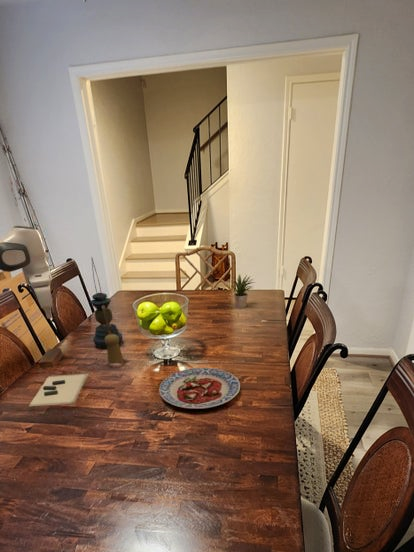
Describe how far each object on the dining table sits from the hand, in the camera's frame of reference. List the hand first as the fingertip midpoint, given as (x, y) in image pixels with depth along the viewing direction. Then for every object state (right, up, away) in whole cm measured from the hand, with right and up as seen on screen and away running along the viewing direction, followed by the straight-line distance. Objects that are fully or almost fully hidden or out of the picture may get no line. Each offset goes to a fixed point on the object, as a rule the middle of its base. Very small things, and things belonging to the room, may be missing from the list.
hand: (48, 314), depth 138 cm
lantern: (+18, -8, +19) cm, 27 cm away
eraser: (-1, -18, +5) cm, 18 cm away
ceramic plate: (+57, -30, -19) cm, 67 cm away
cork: (+25, -18, +3) cm, 30 cm away
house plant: (+76, +16, +54) cm, 95 cm away
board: (+11, -29, -14) cm, 34 cm away
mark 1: (+7, -28, -15) cm, 33 cm away
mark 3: (+9, -26, -12) cm, 30 cm away
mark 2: (+9, -30, -18) cm, 36 cm away
